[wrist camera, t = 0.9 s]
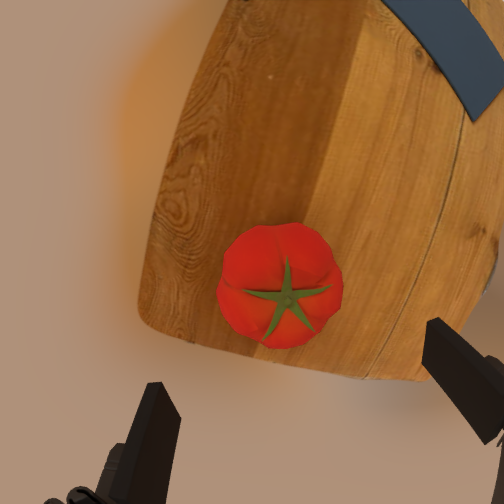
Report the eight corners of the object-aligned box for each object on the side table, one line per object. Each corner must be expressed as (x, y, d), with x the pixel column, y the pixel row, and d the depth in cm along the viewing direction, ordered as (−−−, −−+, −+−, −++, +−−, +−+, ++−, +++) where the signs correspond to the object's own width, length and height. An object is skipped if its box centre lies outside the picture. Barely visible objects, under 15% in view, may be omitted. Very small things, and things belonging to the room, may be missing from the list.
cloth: (368, -12, 19) (369, -13, 18) (428, -32, 16) (430, -33, 16) (472, 121, 23) (474, 121, 23) (510, 76, 21) (512, 76, 20)
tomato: (290, 334, 30) (303, 379, 22) (199, 286, 28) (186, 325, 20) (350, 252, 27) (384, 280, 20) (257, 191, 25) (264, 200, 18)
